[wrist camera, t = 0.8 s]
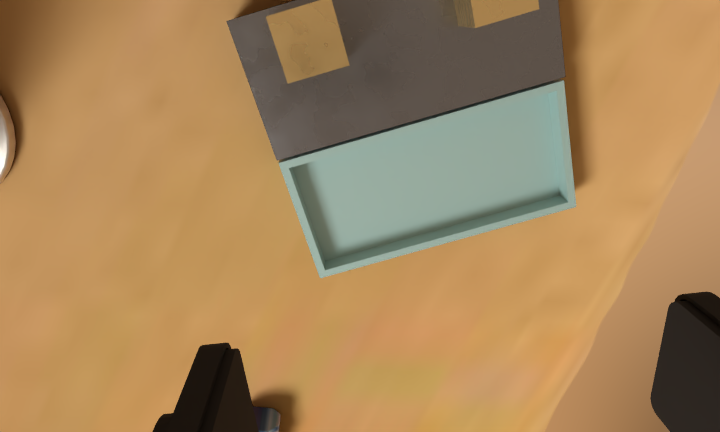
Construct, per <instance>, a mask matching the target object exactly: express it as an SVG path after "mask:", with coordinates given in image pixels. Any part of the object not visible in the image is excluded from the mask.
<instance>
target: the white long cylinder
mask: <svg viewBox="0 0 720 432" xmlns="http://www.w3.org/2000/svg"><path fill="white" fill-rule="evenodd" d="M253 410H254V414H255V418H256V422H257V427H258V431H259V432H279V426H280V416H281V414H280V413H278V412H277V411H276V410H275V409H273V408H264V407H254V406H253Z"/></svg>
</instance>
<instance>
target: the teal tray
mask: <svg viewBox="0 0 720 432" xmlns="http://www.w3.org/2000/svg"><path fill="white" fill-rule="evenodd" d="M279 166H280V168H281V171H282V174H283V177H284V179H285V182H286V185H287V188H288V190H289V193H290V196H291V199H292V202H293V204H294V207H295V210H296V213H297V215H298V218H299V221H300V224H301V226H302V229H303V232H304V235H305V238H306V240H307V243H308V246H309V249H310V251H311V254H312V257H313V260H314V262H315V265H316V268H317V271H318V274H319V276H320V278H323V277H326V276H330V275H333V274H337V273H341V272H344V271H348V270H351V269H355V268H359V267H362V266H366V265H369V264H373V263H376V262H380V261H384V260H387V259H391V258H394V257H398V256H402V255H405V254H409V253H412V252H416V251H420V250H423V249H427V248H430V247H434V246H437V245H441V244H445V243H448V242H452V241H455V240H459V239H463V238H466V237H470V236H473V235H477V234H481V233H484V232H488V231H491V230H495V229H498V228H502V227H506V226H509V225H513V224H516V223H520V222H524V221H527V220H531V219H534V218H538V217H542V216H545V215H549V214H552V213H556V212H559V211H563V210H567V209H570V208H574V207H576V199H575V189H574V179H573V168H572V158H571V148H570V138H569V127H568V117H567V107H566V96H565V86H564V80H561V79H556V80H553V81H549V82H546V83H543V84H539V85H536V86H532V87H529V88H525V89H522V90H518V91H515V92H512V93H508V94H505V95H501V96H498V97H494V98H491V99H487V100H484V101H481V102H477V103H474V104H470V105H467V106H463V107H460V108H456V109H453V110H450V111H446V112H443V113H439V114H436V115H432V116H429V117H425V118H422V119H419V120H415V121H412V122H408V123H405V124H401V125H398V126H394V127H391V128H388V129H384V130H381V131H377V132H374V133H370V134H367V135H363V136H360V137H357V138H353V139H350V140H346V141H343V142H339V143H336V144H332V145H329V146H326V147H322V148H319V149H315V150H312V151H308V152H305V153H301V154H298V155H295V156H291V157H288V158H284V159H281V160H279Z"/></svg>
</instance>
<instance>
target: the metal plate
mask: <svg viewBox="0 0 720 432" xmlns="http://www.w3.org/2000/svg"><path fill="white" fill-rule="evenodd" d="M315 1H319V0H295V1H291V2H288V3H285V4H281V5H278V6H275V7H272V8H268V9H265V10H262V11H258V12H255V13H252V14H249V15H245V16H242V17H239V18H235V19H232V20H229V21H227V24H228V27H229V29H230V32H231V35H232V38H233V41H234V43H235V46H236V49H237V52H238V54H239V57H240V60H241V63H242V65H243V68H244V71H245V74H246V76H247V79H248V82H249V85H250V88H251V90H252V93H253V96H254V99H255V101H256V104H257V107H258V110H259V112H260V115H261V118H262V121H263V123H264V126H265V129H266V132H267V134H268V137H269V140H270V143H271V146H272V148H273V151H274V154H275V157H276V159H277V160H281V159H284V158H288V157H291V156H295V155H298V154H301V153H305V152H308V151H312V150H315V149H319V148H322V147H326V146H329V145H332V144H336V143H339V142H343V141H346V140H350V139H353V138H357V137H360V136H363V135H367V134H370V133H374V132H377V131H381V130H384V129H388V128H391V127H394V126H398V125H401V124H405V123H408V122H412V121H415V120H419V119H422V118H425V117H429V116H432V115H436V114H439V113H443V112H446V111H450V110H453V109H456V108H460V107H463V106H467V105H470V104H474V103H477V102H481V101H484V100H487V99H491V98H494V97H498V96H501V95H505V94H508V93H512V92H515V91H518V90H522V89H525V88H529V87H532V86H536V85H539V84H543V83H546V82H549V81H553V80H556V79H560V78H563V77H565V67H564V56H563V46H562V35H561V25H560V14H559V4H558V0H538V2H539V9H538V10H535V11H531V12H528V13H525V14H521V15H518V16H514V17H511V18H508V19H504V20H501V21H498V22H494V23H491V24H487V25H484V26H481V27H477V28H470V27H460V26H458V22H457V16H456V11H455V5H454V0H332V3H333V6H334V10H335V14H336V17H337V21H338V25H339V28H340V32H341V36H342V39H343V43H344V47H345V50H346V54H347V58H348V61H349V66H346V67H343V68H339V69H336V70H333V71H329V72H326V73H322V74H319V75H316V76H312V77H309V78H306V79H302V80H299V81H295V82H292V83H289V84H288V83H287V80H286V77H285V74H284V71H283V68H282V65H281V62H280V59H279V56H278V53H277V49H276V46H275V43H274V40H273V37H272V34H271V31H270V28H269V25H268V22H267V19H266V16H269V15H272V14H276V13H279V12H282V11H286V10H289V9H292V8H295V7H299V6H302V5H305V4H309V3H312V2H315Z"/></svg>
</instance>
